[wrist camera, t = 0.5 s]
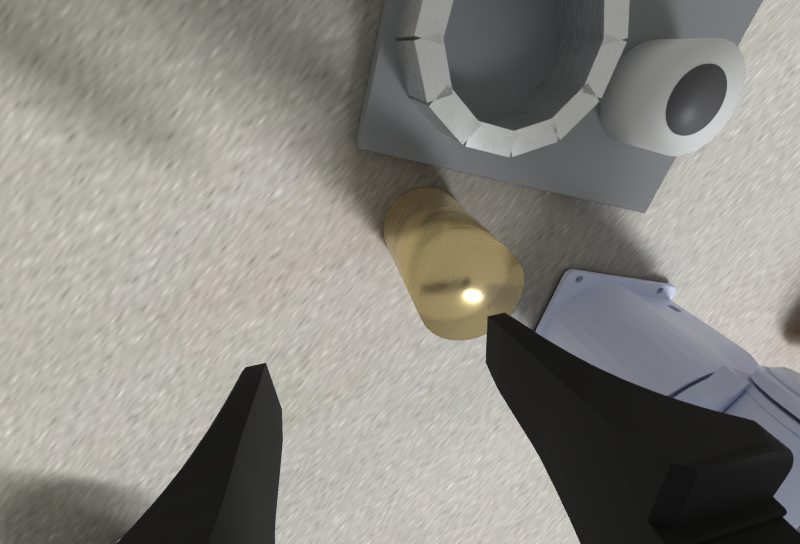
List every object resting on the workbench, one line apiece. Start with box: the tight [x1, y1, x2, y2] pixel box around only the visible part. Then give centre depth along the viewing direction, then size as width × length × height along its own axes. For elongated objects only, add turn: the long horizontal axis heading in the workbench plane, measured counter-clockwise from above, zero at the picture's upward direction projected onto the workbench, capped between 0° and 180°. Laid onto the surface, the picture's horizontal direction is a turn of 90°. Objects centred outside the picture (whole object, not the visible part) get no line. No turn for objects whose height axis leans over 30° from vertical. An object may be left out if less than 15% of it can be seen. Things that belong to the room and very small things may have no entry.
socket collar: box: [395, 0, 630, 157], centre depth 15 cm, size 8×8×3 cm
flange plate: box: [355, 0, 763, 213], centre depth 17 cm, size 17×11×4 cm, turn 75°
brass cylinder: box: [383, 187, 524, 340], centre depth 18 cm, size 4×4×7 cm
